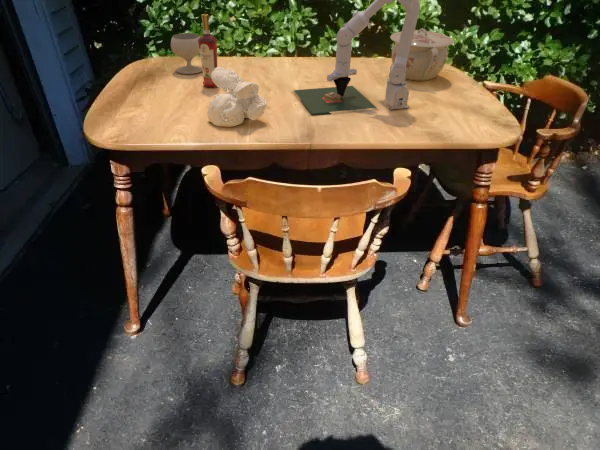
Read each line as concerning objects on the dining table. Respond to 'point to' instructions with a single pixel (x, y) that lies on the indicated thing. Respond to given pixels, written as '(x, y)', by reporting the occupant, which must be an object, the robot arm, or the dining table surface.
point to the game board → (319, 106)
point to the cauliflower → (234, 100)
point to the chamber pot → (424, 54)
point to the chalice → (186, 51)
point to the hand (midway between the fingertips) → (340, 95)
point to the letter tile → (332, 97)
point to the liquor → (207, 52)
